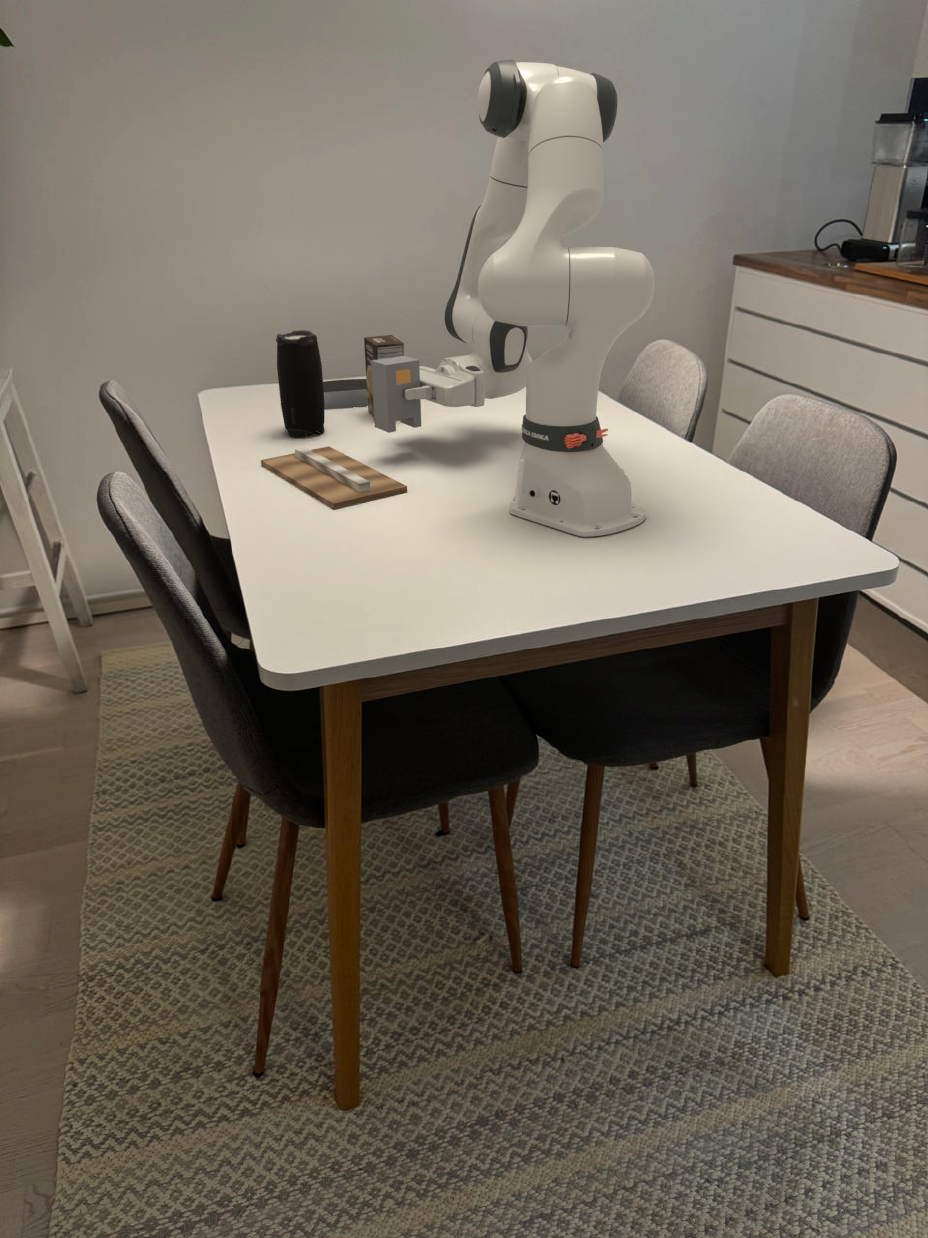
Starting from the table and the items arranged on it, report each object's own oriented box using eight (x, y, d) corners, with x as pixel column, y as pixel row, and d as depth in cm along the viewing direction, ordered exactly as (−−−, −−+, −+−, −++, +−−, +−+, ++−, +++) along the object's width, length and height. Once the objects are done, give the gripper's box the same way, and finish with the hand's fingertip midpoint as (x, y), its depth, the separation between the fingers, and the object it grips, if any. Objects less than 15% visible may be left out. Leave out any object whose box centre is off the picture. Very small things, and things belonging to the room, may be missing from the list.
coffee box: (366, 412, 201) (362, 336, 193) (394, 409, 203) (391, 334, 195) (379, 422, 193) (375, 344, 186) (408, 419, 195) (405, 342, 188)
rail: (407, 491, 156) (406, 477, 154) (334, 509, 148) (332, 494, 147) (329, 451, 176) (328, 438, 175) (261, 465, 169) (259, 452, 167)
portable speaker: (306, 424, 192) (298, 327, 183) (336, 432, 187) (329, 333, 178) (273, 433, 187) (263, 334, 178) (303, 441, 181) (294, 340, 172)
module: (421, 426, 169) (419, 359, 164) (389, 432, 166) (385, 365, 160) (406, 420, 173) (404, 355, 167) (374, 426, 169) (370, 360, 164)
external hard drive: (395, 407, 206) (395, 388, 204) (309, 413, 202) (307, 394, 200) (385, 392, 217) (385, 375, 215) (303, 398, 213) (301, 380, 211)
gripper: (426, 355, 179) (364, 364, 172) (489, 372, 164) (424, 383, 157) (427, 387, 182) (366, 398, 175) (489, 407, 167) (425, 419, 160)
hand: (394, 391), depth 166 cm, fingers closed on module, 5 cm apart
